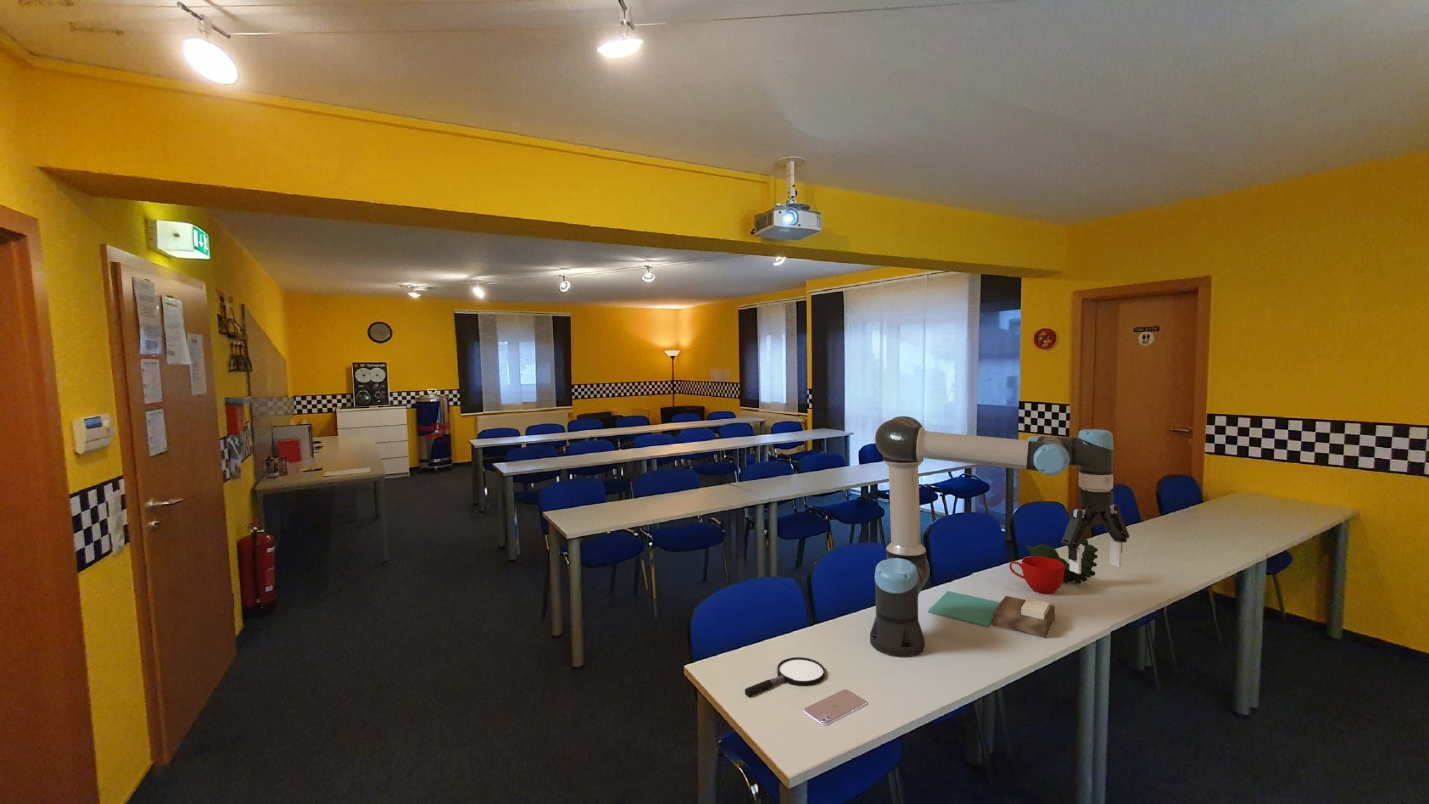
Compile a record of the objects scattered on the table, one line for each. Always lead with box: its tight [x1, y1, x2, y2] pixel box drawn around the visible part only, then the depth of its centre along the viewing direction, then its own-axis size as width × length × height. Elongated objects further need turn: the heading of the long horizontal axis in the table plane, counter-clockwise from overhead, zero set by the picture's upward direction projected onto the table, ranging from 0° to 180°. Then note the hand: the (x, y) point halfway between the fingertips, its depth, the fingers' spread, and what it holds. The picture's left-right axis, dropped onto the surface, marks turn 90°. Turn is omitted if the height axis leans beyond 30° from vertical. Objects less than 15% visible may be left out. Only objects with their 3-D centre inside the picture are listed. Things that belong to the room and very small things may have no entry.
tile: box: [1021, 598, 1050, 620], centre depth 174 cm, size 6×9×2 cm, turn 141°
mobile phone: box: [802, 689, 868, 727], centre depth 136 cm, size 8×1×15 cm
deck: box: [992, 595, 1056, 639], centre depth 176 cm, size 14×16×4 cm
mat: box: [927, 590, 1001, 628], centre depth 187 cm, size 18×20×1 cm
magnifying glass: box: [744, 656, 826, 698], centre depth 148 cm, size 12×24×2 cm, turn 123°
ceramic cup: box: [1009, 556, 1065, 595], centre depth 200 cm, size 13×17×10 cm
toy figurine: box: [1024, 537, 1099, 585], centre depth 210 cm, size 9×19×25 cm
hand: (1095, 568), depth 150 cm, fingers open, 13 cm apart
